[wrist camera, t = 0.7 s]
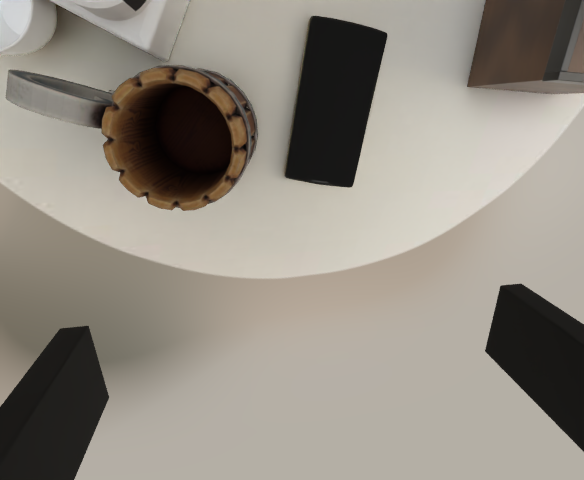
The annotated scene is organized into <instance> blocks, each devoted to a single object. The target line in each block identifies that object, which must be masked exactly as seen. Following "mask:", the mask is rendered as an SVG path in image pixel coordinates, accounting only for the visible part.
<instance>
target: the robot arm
mask: <svg viewBox="0 0 584 480" xmlns="http://www.w3.org/2000/svg"><path fill="white" fill-rule="evenodd" d="M485 351H486V353H487V354H489V356H490V357H491V358H492V359H493V360H494V361H495V362H496V363H497V364H498V365H499V366H500V367H501V368H502V369H503V370H504V371H505V372H506V373H507V374H508V375H509V376H510V377H511V378H512V379H513V380H514V381H515V382H516V383H517V384H518V385H519V386H520V387H521V388H522V389H523V390H524V391H525V392H526V393H527V394H528V395H529V396H530V397H531V398H532V399H533V400H534V402H536V404H538V406H539V407H541V409H542V410H544V412H545V413H546V414H547V415H548V416H549V417H550V418H551V419H552V420H553V421H554V422H555V423H556V424H557V425H558V426H559V427H560V428H561V429H562V430H563V431H564V432H565V433H566V434H567V435H568V436H569V437H570V438H571V439H572V440H573V441H574V442H575V443H576V444H577V445H578V446H579V447H580V448H581V449H582V450H583V451H584V324H582V323H580V322H579V321H577V320H576V319H574V318H573V317H571V316H570V315H568V314H567V313H565V312H564V311H562V310H561V309H559V308H558V307H556V306H554V305H553V304H551V303H550V302H548V301H547V300H545V299H544V298H542V297H541V296H539V295H538V294H536V293H534V292H533V291H532V290H530V289H528V288H527V287H525V286H524V285H522V284H513V285H503V286H500V291H499V295H498V299H497V303H496V308H495V312H494V316H493V320H492V324H491V329H490V333H489V337H488V341H487V346H486V350H485ZM108 399H109V395H108V392H107V388H106V385H105V382H104V378H103V375H102V371H101V368H100V365H99V361H98V357H97V354H96V350H95V347H94V343H93V340H92V337H91V333H90V329H89V326H83V327H73V328H62V329H60V330H59V331H58V332H57V334H56V335H55V336H54V338H53V339H52V340H51V341H50V343H49V344H48V345H47V347H46V348H45V349H44V350H43V352H42V353H41V354H40V356H39V357H38V358H37V360H36V361H35V362H34V364H33V365H32V366H31V367H30V369H29V370H28V372H27V373H26V374H25V375H24V377H23V378H22V379H21V381H20V382H19V383H18V385H17V386H16V387H15V388H14V390H13V391H12V393H11V394H10V395H9V396H8V398H7V399H6V400H5V402H4V403H3V404H2V405H1V407H0V480H74V479H75V476H76V474H77V472H78V469H79V467H80V465H81V462H82V460H83V458H84V455H85V453H86V450H87V448H88V445H89V443H90V441H91V438H92V436H93V434H94V432H95V429H96V427H97V425H98V422H99V420H100V417H101V415H102V413H103V410H104V408H105V406H106V403H107V401H108Z"/></svg>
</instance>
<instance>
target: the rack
mask: <svg viewBox="0 0 584 480" xmlns="http://www.w3.org/2000/svg"><path fill="white" fill-rule="evenodd" d="M467 87H473V88H485V89H497V90H510V91H522V92H534V93H546V94H568V93H584V0H486V3H485V8H484V12H483V17H482V22H481V26H480V31H479V35H478V40H477V44H476V49H475V54H474V58H473V63H472V67H471V72H470V76H469V81H468V86H467Z"/></svg>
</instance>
